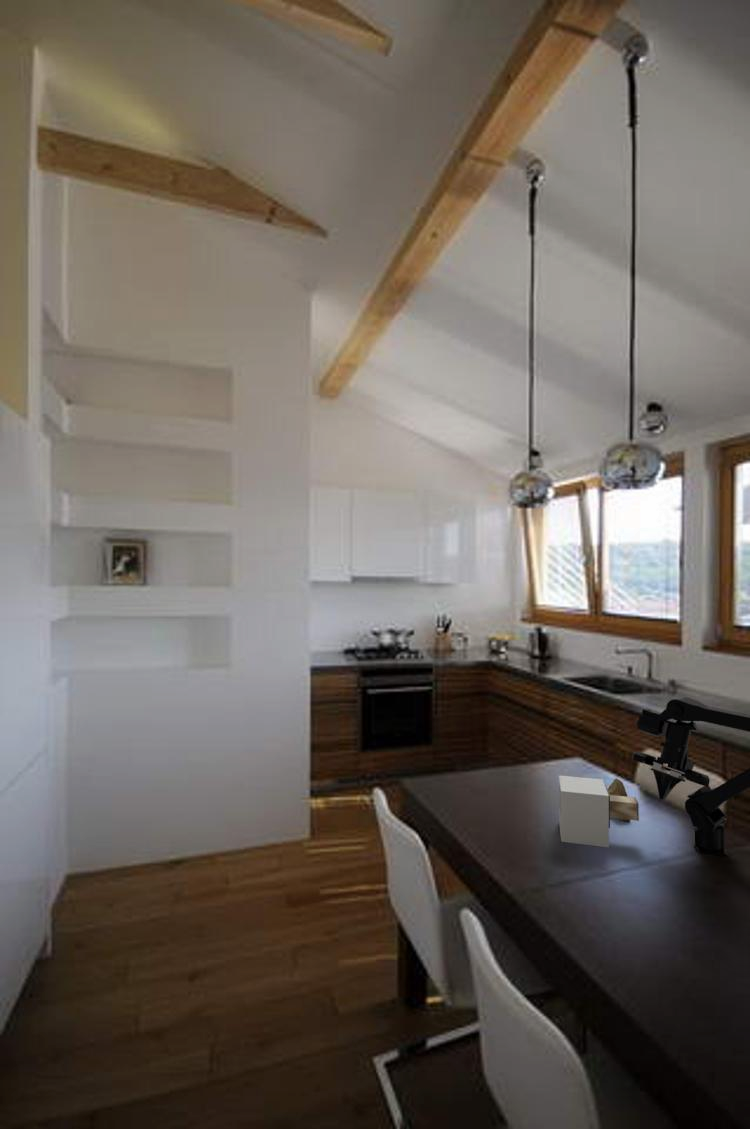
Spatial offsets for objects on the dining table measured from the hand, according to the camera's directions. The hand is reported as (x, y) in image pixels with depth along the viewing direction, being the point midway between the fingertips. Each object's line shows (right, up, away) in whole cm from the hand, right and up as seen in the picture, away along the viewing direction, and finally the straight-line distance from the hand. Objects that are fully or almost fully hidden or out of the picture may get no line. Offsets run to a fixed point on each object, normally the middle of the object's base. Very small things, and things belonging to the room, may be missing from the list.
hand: (661, 799), depth 155 cm
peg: (-12, -5, +2) cm, 13 cm away
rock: (-5, -12, +18) cm, 22 cm away
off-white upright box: (-20, -11, +4) cm, 23 cm away
